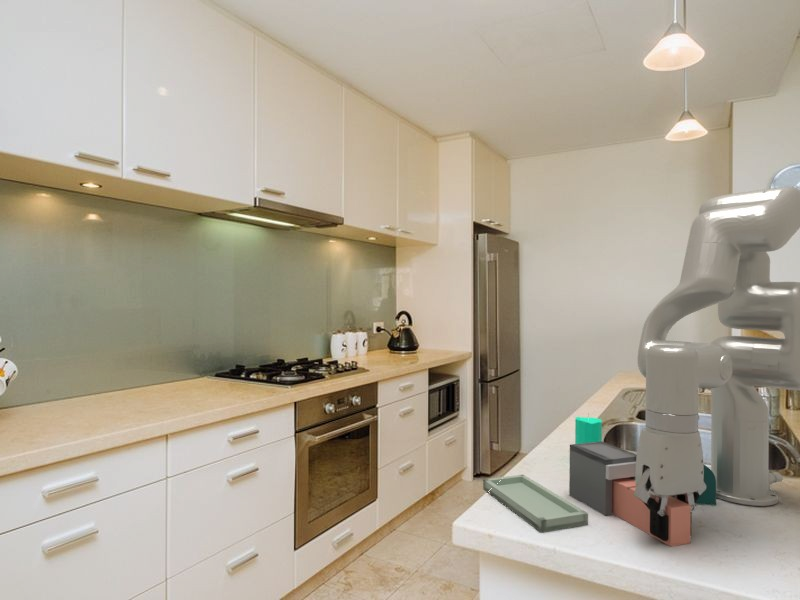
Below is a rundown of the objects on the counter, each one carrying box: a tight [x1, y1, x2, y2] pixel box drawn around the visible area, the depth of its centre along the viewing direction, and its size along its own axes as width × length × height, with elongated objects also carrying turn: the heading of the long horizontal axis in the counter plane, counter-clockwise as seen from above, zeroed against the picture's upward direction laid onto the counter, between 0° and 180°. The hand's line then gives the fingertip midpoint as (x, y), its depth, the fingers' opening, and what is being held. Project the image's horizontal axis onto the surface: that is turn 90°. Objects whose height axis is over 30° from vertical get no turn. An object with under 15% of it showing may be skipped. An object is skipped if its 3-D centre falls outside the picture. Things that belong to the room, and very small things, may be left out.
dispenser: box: [568, 441, 637, 517], centre depth 95 cm, size 11×8×10 cm
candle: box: [574, 412, 603, 444], centre depth 119 cm, size 6×6×12 cm
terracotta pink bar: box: [612, 477, 692, 547], centre depth 87 cm, size 4×16×6 cm, turn 18°
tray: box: [482, 474, 589, 534], centre depth 94 cm, size 9×20×2 cm, turn 19°
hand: (670, 533), depth 81 cm, fingers closed on terracotta pink bar, 4 cm apart
